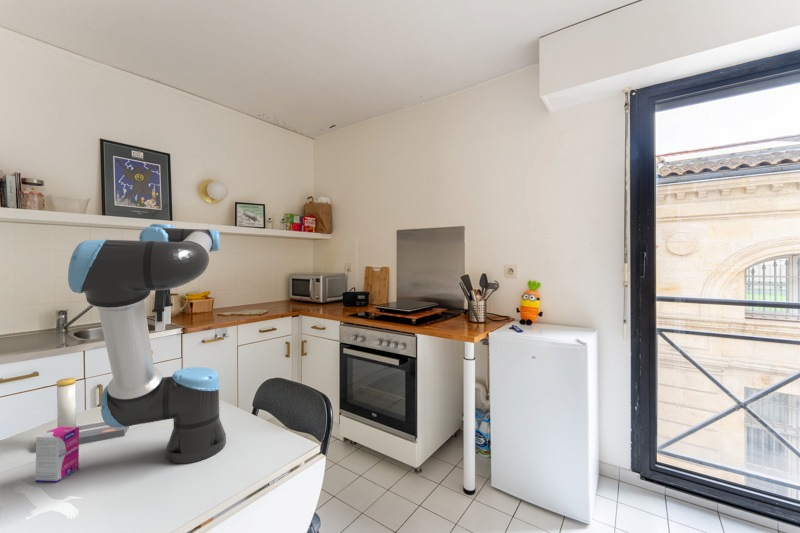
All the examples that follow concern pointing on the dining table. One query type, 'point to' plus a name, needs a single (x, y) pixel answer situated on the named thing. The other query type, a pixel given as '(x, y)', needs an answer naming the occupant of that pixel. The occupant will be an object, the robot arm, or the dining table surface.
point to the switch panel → (98, 432)
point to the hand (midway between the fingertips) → (163, 327)
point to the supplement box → (57, 454)
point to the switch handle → (66, 402)
